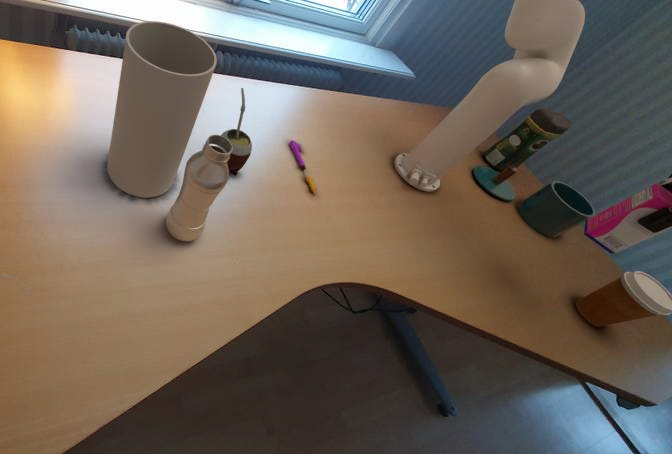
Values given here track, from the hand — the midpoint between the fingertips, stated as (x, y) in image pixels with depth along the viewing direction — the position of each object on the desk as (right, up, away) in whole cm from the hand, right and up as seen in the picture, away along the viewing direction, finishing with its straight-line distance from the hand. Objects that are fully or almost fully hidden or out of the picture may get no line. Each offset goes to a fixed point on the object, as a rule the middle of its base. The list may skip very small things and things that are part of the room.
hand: (642, 215), depth 65 cm
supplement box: (-2, -4, +6) cm, 7 cm away
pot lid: (+5, +10, +39) cm, 40 cm away
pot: (+14, 0, +35) cm, 38 cm away
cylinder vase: (-89, +8, +4) cm, 90 cm away
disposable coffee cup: (+9, -22, +18) cm, 30 cm away
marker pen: (-54, +11, +19) cm, 58 cm away
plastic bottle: (-81, -3, -1) cm, 81 cm away
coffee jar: (+13, +17, +48) cm, 53 cm away
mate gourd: (-73, +11, +12) cm, 75 cm away
